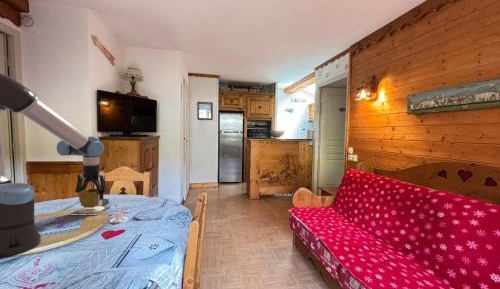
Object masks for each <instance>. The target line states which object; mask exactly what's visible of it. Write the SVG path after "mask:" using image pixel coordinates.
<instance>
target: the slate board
mask: <svg viewBox="0 0 500 289" xmlns="http://www.w3.org/2000/svg"><path fill="white" fill-rule="evenodd" d="M109 209H111V205H110V206H109V205H105V206H96V207H93V208H85V207H82V208H81V209H77V210H75V211H74V212H71V213H70V215H71V214H97V213H99V212H101V211H104V212H106V211H107V210H109Z"/></svg>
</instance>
